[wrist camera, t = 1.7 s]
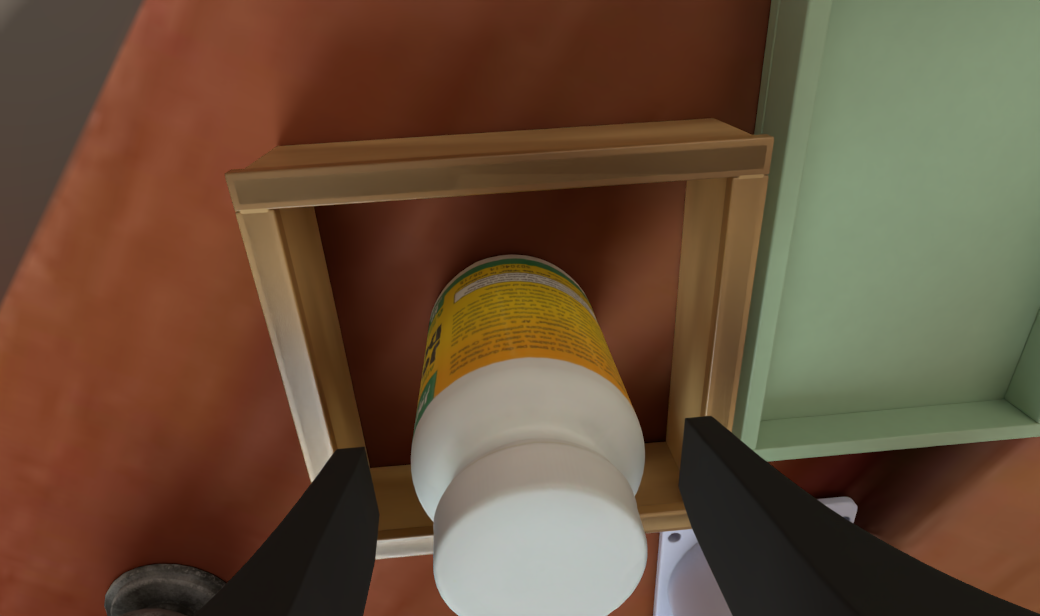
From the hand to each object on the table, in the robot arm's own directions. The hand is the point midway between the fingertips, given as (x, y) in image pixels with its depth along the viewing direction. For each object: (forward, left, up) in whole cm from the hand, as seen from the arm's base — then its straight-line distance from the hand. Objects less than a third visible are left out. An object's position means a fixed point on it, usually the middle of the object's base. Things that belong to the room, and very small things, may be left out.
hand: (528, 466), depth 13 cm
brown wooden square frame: (0, 0, -7) cm, 7 cm away
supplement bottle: (0, 0, -7) cm, 7 cm away
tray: (+3, -13, -7) cm, 15 cm away
